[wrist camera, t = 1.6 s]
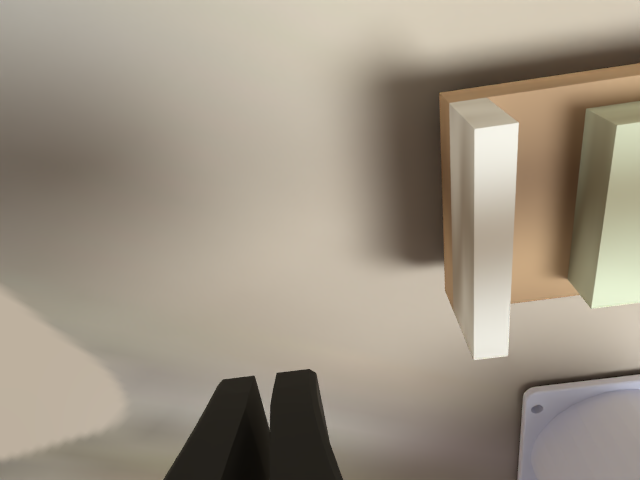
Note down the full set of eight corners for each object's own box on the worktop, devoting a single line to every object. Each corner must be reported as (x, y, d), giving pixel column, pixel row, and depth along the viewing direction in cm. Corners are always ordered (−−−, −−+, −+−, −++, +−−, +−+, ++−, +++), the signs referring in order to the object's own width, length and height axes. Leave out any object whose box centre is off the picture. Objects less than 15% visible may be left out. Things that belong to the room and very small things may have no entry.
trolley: (679, 237, 19) (791, 321, 15) (436, 269, 19) (473, 360, 15) (724, 38, 16) (887, 69, 11) (429, 82, 16) (474, 129, 12)
